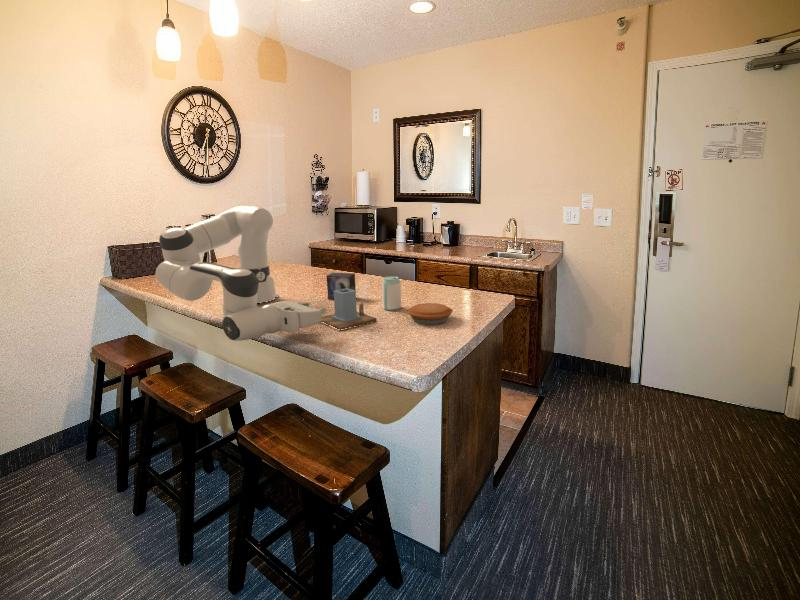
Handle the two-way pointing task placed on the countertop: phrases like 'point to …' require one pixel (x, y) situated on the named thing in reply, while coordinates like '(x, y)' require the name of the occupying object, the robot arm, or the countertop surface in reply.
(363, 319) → the post base
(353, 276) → the small box
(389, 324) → the countertop surface
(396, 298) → the can
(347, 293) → the square pen holder
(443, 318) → the pie
